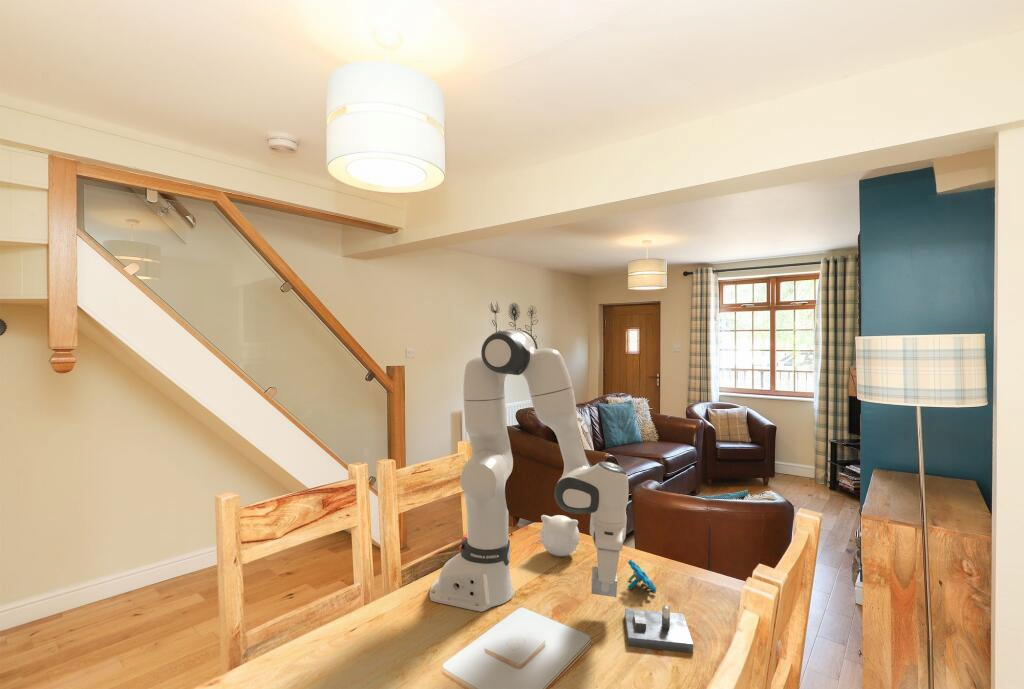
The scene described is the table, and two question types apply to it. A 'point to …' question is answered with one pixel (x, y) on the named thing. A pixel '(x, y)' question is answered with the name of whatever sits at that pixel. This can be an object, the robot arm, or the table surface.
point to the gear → (639, 577)
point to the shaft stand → (658, 630)
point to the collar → (597, 585)
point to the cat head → (559, 535)
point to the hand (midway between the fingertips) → (604, 582)
